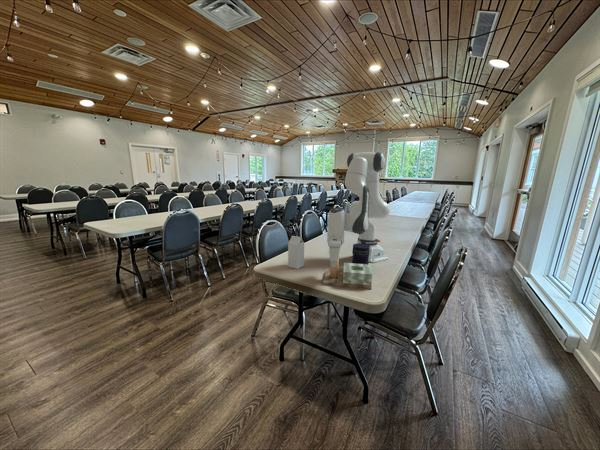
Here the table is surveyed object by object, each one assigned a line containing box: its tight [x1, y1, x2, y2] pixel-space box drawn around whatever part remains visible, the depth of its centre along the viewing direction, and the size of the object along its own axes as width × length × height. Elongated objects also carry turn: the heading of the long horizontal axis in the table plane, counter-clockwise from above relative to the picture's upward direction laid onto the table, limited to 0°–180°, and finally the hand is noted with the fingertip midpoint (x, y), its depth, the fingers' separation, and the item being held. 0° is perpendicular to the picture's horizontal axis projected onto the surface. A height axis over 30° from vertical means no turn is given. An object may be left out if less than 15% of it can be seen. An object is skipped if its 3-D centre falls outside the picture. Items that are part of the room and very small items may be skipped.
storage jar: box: [351, 242, 370, 265], centre depth 148 cm, size 10×10×15 cm
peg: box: [329, 255, 340, 278], centre depth 133 cm, size 4×4×14 cm
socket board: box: [322, 262, 373, 290], centre depth 132 cm, size 24×16×8 cm, turn 79°
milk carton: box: [287, 235, 305, 270], centre depth 151 cm, size 7×7×19 cm
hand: (334, 264), depth 133 cm, fingers closed on peg, 4 cm apart
